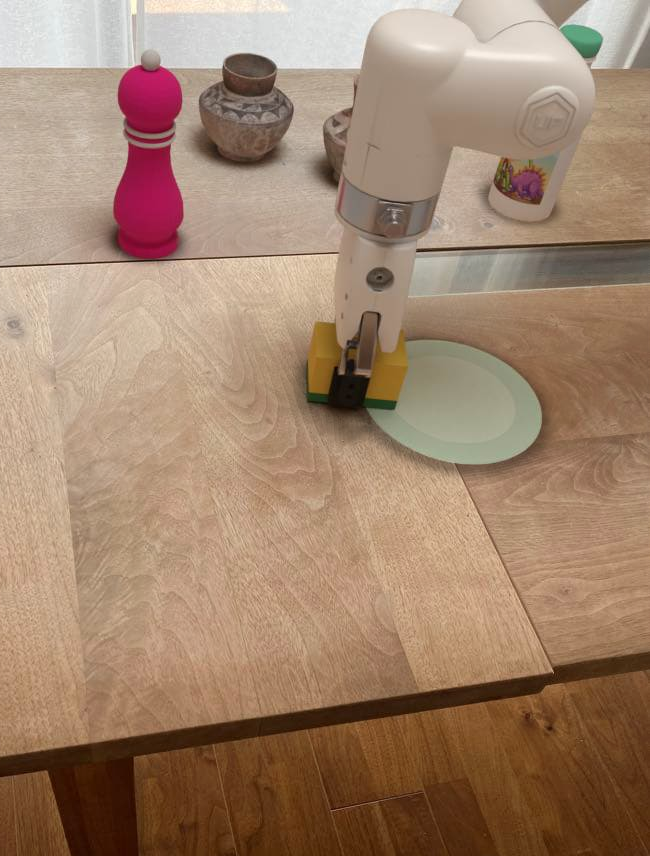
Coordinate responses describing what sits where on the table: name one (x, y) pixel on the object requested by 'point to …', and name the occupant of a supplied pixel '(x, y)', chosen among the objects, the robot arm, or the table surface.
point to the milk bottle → (540, 178)
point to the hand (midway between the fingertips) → (343, 381)
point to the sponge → (327, 353)
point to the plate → (461, 405)
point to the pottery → (260, 112)
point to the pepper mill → (149, 161)
